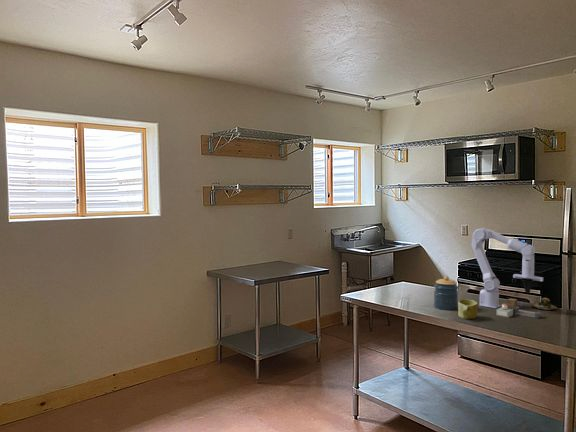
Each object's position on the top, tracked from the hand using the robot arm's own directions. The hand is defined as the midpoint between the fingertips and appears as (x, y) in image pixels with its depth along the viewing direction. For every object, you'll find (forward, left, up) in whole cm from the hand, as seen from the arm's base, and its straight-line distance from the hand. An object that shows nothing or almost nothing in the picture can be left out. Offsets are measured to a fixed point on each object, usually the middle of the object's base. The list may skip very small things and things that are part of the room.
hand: (527, 292), depth 244 cm
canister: (-34, -24, -10) cm, 43 cm away
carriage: (-5, -9, -10) cm, 14 cm away
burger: (+4, +13, -10) cm, 17 cm away
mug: (-16, -36, -10) cm, 40 cm away
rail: (0, -9, -10) cm, 13 cm away
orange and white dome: (-5, -17, -7) cm, 19 cm away
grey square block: (-5, -17, -10) cm, 20 cm away
